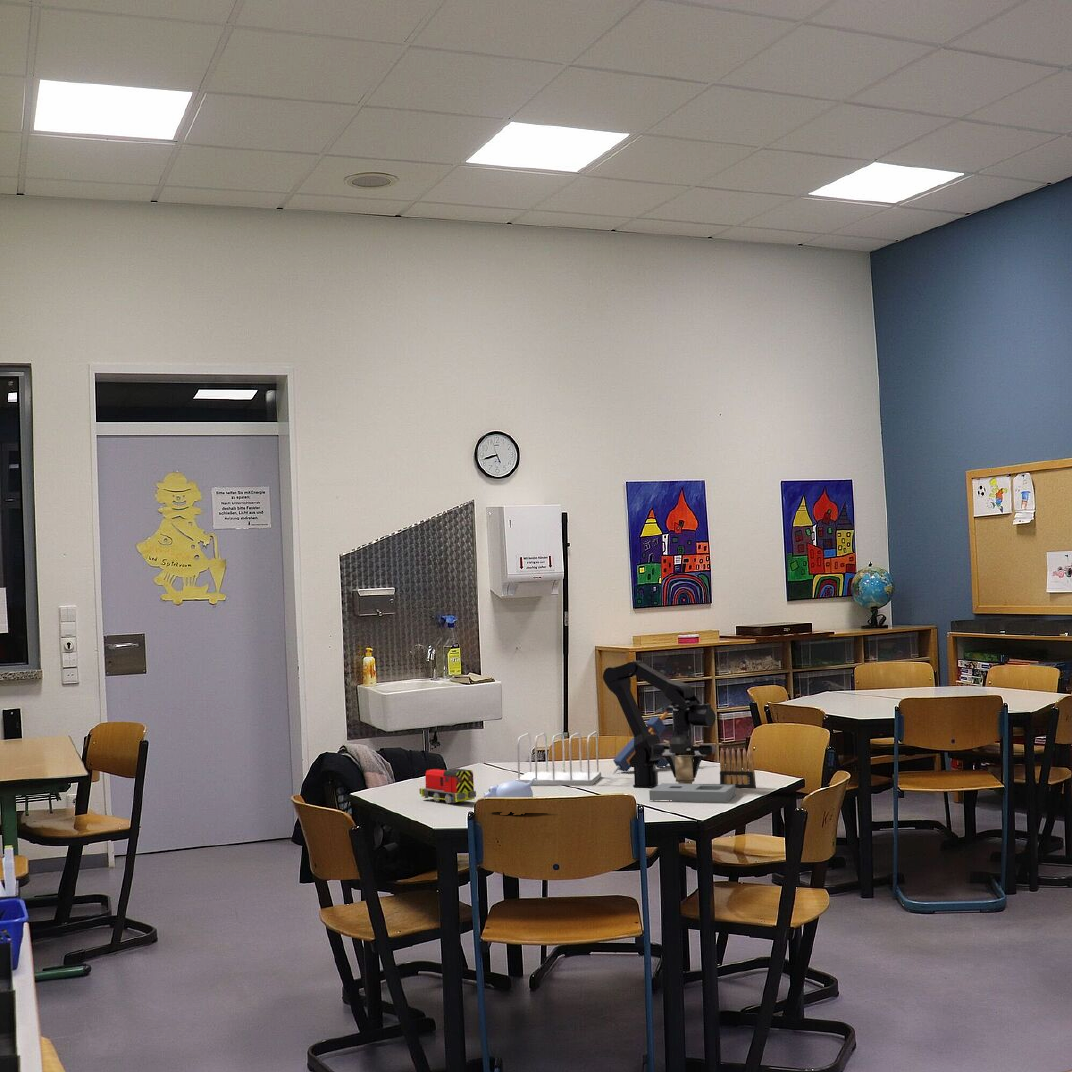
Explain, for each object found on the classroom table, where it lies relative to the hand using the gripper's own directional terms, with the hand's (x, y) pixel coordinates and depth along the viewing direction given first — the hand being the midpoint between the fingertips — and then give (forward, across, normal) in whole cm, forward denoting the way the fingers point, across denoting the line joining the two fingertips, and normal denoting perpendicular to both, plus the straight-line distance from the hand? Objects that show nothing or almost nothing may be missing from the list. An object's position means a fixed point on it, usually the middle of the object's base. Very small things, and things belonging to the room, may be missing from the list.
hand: (685, 777), depth 355 cm
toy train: (+4, -65, -30) cm, 72 cm away
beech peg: (+4, 0, 0) cm, 4 cm away
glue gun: (+4, -25, +40) cm, 47 cm away
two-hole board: (+4, +6, -15) cm, 17 cm away
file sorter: (+4, -45, +12) cm, 47 cm away
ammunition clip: (+4, +15, +5) cm, 16 cm away
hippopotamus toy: (+4, -39, -45) cm, 60 cm away
